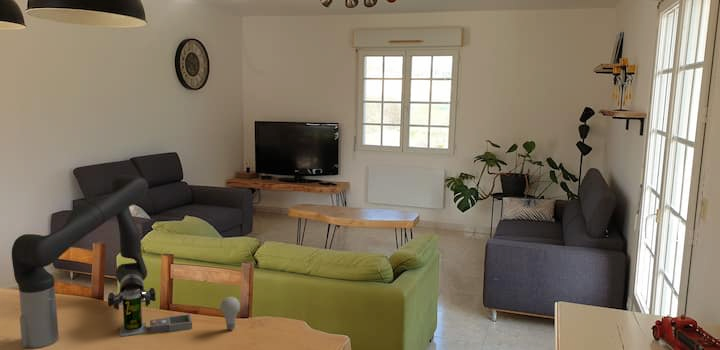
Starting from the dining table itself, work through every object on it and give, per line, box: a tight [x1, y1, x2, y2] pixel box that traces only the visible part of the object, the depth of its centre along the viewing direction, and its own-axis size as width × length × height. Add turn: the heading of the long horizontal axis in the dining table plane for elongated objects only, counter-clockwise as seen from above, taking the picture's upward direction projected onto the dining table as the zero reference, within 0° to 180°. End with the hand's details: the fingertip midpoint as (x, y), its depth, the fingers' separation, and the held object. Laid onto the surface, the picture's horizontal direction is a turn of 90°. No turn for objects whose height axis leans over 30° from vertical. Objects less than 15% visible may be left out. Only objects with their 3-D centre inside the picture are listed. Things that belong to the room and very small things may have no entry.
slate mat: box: [120, 322, 148, 338], centre depth 177 cm, size 8×8×1 cm
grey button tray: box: [149, 313, 193, 334], centre depth 179 cm, size 12×7×3 cm, turn 113°
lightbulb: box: [220, 296, 241, 331], centre depth 177 cm, size 6×6×11 cm
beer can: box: [122, 290, 143, 332], centre depth 176 cm, size 5×5×12 cm
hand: (132, 305), depth 174 cm, fingers open, 8 cm apart
